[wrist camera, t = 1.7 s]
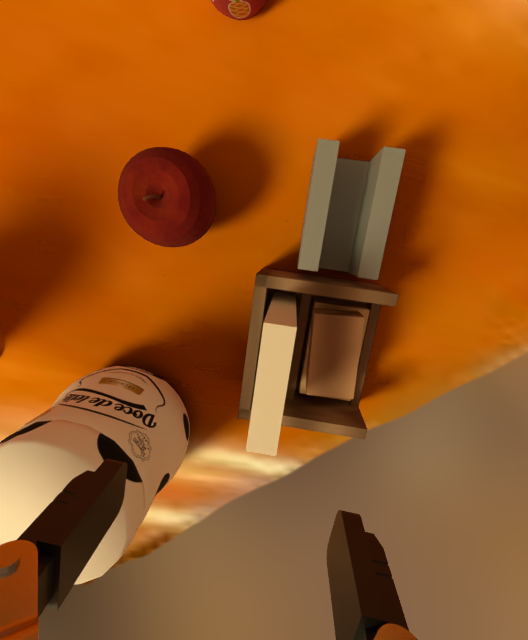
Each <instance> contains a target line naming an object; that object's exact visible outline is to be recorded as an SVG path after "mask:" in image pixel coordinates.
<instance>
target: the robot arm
mask: <svg viewBox="0 0 528 640" xmlns="http://www.w3.org/2000/svg"><path fill="white" fill-rule="evenodd" d="M126 476H127V463H125V462H120V461H116V460H111V459H106V460H104V461H103V463H102V464H101V465H100V466H99V467H98V468H97V470H96V471H95V472H93V471H89V470H87V471H85V472H83V473H82V474H80V475H78V476H76V477H75V478H73V479H72V480H71V481H70V482H69V483H68V484H67V485H66V487H65V488H64V489H63V490H62V492H60V493H59V494H58V495H57V496H56V497H55V499H54V500H53V502H51V503H50V504H49V505H48V506H47V507H46V508H45V509H44V510H43V512H42V513H41V514H40V515H39V516H38V517H37V518H36V519H35V520H34V521H33V522H32V524H31V525H30V526H29V527H28V528H27V529H26V530H25V531H24V532H23V533H22V534H21V535H20V537H19V538H18V539H17V540H14V541H10V542H7V543H4V544H1V545H0V640H38V618H39V616H40V615H41V613H42V612H43V610H44V609H45V607H47V608H51V609H56V610H58V609H59V607H60V606H61V604H62V603H63V601H64V599H65V598H66V596H67V595H68V593H69V591H70V590H71V588H72V587H73V585H74V584H75V582H76V580H77V579H78V577H79V576H80V574H81V572H82V571H83V569H84V568H85V566H86V565H87V563H88V561H89V560H90V558H91V557H92V555H93V553H94V552H95V550H96V549H97V547H98V546H99V544H100V542H101V541H102V539H103V538H104V536H105V534H106V533H107V531H108V530H109V528H110V527H111V525H112V523H113V522H114V520H115V519H116V517H117V515H118V513H119V511H120V509H121V507H122V504H123V500H124V494H125V485H126ZM327 567H328V576H329V584H330V593H331V601H332V609H333V618H334V626H335V635H336V640H418V639H417V638H416V637H415V636H414V635H413V634H411V632H409V629H408V627H407V623H406V620H405V617H404V613H403V611H402V607H401V604H400V600H399V597H398V594H397V591H396V588H395V584H394V581H393V579H392V575H391V571H390V569H389V566H388V562H387V559H386V555H385V552H384V549H383V547H382V545H381V544H380V543H379V541H378V540H377V538H376V537H375V535H374V534H371V533H367V532H365V530H364V527H363V523H362V519H361V516H360V515H359V514H355V513H350V512H346V511H341V510H339V511H338V513H337V515H336V518H335V522H334V525H333V529H332V532H331V536H330V539H329V543H328V548H327Z"/></svg>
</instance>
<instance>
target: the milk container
mask: <svg viewBox="0 0 528 640" xmlns="http://www.w3.org/2000/svg"><path fill="white" fill-rule="evenodd" d="M189 435H190V424H189V418H188V414H187V411H186V408H185V406H184V404H183V402H182V400H181V398H180V396H179V395H178V394H177V393H176V391H175V390H174V389H173V388H172V387H171V386H170V385H169V384H168V383H167V382H166V381H165V380H163V379H162V378H160V377H158V376H157V375H155V374H153V373H151V372H150V371H147V370H144V369H140V368H136V367H131V366H113V367H108V368H104V369H101V370H98V371H95V372H92V373H90V374H88V375H86V376H84V377H82V378H80V379H79V380H77V381H75V382H74V383H73V384H71V385H70V386H69V387H68V388H67V389H65V390H64V391H63V393H62V394H61V395H60V396H59V397H58V398H57V399H56V401H55V402H54V404H53V405H52V406H51V407H50V409H48V410H47V411H46V412H44V413H42V414H41V415H39V416H38V417H36V418H34V419H33V420H31V421H30V422H28V423H27V424H25V425H24V426H22V427H21V428H20V429H19V430H18V431H17V432H15V433H14V434H12V435H10V436H8V437H7V438H5V439H4V440H2V441H1V442H0V545H1V544H4V543H7V542H10V541H14V540H17V539H18V538H19V537H20V535H21V534H22V533H23V532H24V531H25V530H26V529H27V528H28V527H29V526H30V525H31V524H32V522H33V521H34V520H35V519H36V518H37V517H38V516H39V515H40V514H41V513H42V512H43V510H44V509H45V508H46V507H47V506H48V505H49V504H50V503H51V502H53V500H54V499H55V497H56V496H57V495H58V494H59V493H60V492H62V490H63V489H64V488H65V487H66V485H67V484H68V483H69V482H70V481H71V480H72V479H73V478H75V477H76V476H78V475H80V474H82V473H83V472H85V471H87V470H89V471H93V472H95V471H96V470H97V468H98V467H99V466H100V465H101V464H102V463H103V461H104V460H106V459H111V460H116V461H120V462H125V463H127V476H126V485H125V494H124V500H123V504H122V507H121V509H120V511H119V513H118V515H117V517H116V519H115V520H114V522H113V523H112V525H111V527H110V528H109V530H108V531H107V533H106V534H105V536H104V538H103V539H102V541H101V542H100V544H99V546H98V547H97V549H96V550H95V552H94V553H93V555H92V557H91V558H90V560H89V561H88V563H87V565H86V566H85V568H84V569H83V571H82V572H81V574H80V576H79V577H78V579H77V580H76V582H75V584H81V583H84V582H87V581H89V580H92V579H95V578H97V577H100V576H102V575H103V574H104V573H105V572H106V571H107V570H108V569H109V568H110V567H111V566H113V565H114V564H115V563H116V562H117V561H118V560H119V558H120V557H121V556H122V555H123V554H124V552H125V551H126V549H127V548H128V546H129V545H130V543H131V542H132V540H133V538H134V536H135V534H136V532H137V529H138V527H139V526H140V524H141V523H142V521H143V520H144V518H145V516H146V514H147V512H148V510H149V508H150V506H151V504H152V502H153V500H154V498H155V496H156V494H157V493H158V492H159V491H160V490H161V489H163V488H164V487H165V486H166V485H167V484H168V482H169V481H170V480H171V479H172V478H173V477H174V475H175V474H176V472H177V471H178V469H179V467H180V465H181V463H182V461H183V459H184V456H185V453H186V450H187V446H188V442H189Z"/></svg>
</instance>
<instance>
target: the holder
mask: <svg viewBox="0 0 528 640" xmlns="http://www.w3.org/2000/svg"><path fill="white" fill-rule="evenodd" d="M339 144H340V141H334V140H326V139H318V142H317V146H316V150H315V154H314V158H313V165H312V171H311V178H310V184H309V190H308V197H307V203H306V210H305V216H304V223H303V229H302V235H301V242H300V248H299V255H298V261H297V267H298V269H302V270H309V271H317V272H318V268H323V269H330V270H337V271H344V272H349V273H351V274H352V275H354V276H356V277H359V278H366V279H373V280H378V277H379V272H380V267H381V263H382V258H383V253H384V249H385V244H386V240H387V235H388V230H389V226H390V221H391V216H392V212H393V207H394V203H395V198H396V193H397V189H398V184H399V179H400V175H401V170H402V166H403V161H404V156H405V152H406V149H400V148H392V147H383V148H382V149H381V150H380V151H379V152H378V153H377V154H376V155H375V156H374V157H373V158H372V159H371V161H370V162H366V161H358V160H350V159H342V158H337V156H338V150H339Z"/></svg>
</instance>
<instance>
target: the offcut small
mask: <svg viewBox="0 0 528 640" xmlns="http://www.w3.org/2000/svg"><path fill="white" fill-rule="evenodd" d="M364 318H365V317H364V316H363V315H362V314H361V313H360V312H359V311H346V310H333V309H320V308H313V313H312V323H311V333H310V343H309V353H308V363H307V373H306V395H314V396H325V397H335V398H345V399H353V398H354V391H355V384H356V376H357V369H358V362H359V355H360V347H361V340H362V333H363V326H364Z"/></svg>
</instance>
